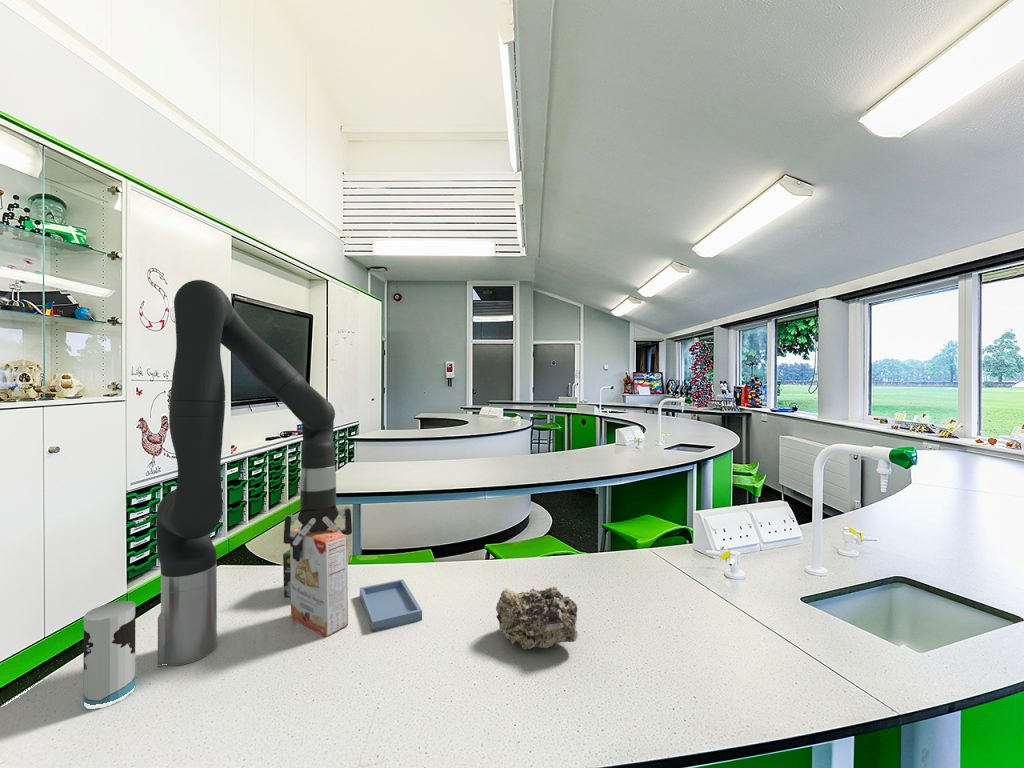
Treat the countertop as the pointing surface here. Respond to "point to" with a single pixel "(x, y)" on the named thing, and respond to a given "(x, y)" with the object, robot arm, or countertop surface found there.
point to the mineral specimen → (537, 617)
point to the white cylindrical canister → (109, 652)
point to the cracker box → (320, 581)
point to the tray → (389, 605)
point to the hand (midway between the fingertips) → (318, 557)
